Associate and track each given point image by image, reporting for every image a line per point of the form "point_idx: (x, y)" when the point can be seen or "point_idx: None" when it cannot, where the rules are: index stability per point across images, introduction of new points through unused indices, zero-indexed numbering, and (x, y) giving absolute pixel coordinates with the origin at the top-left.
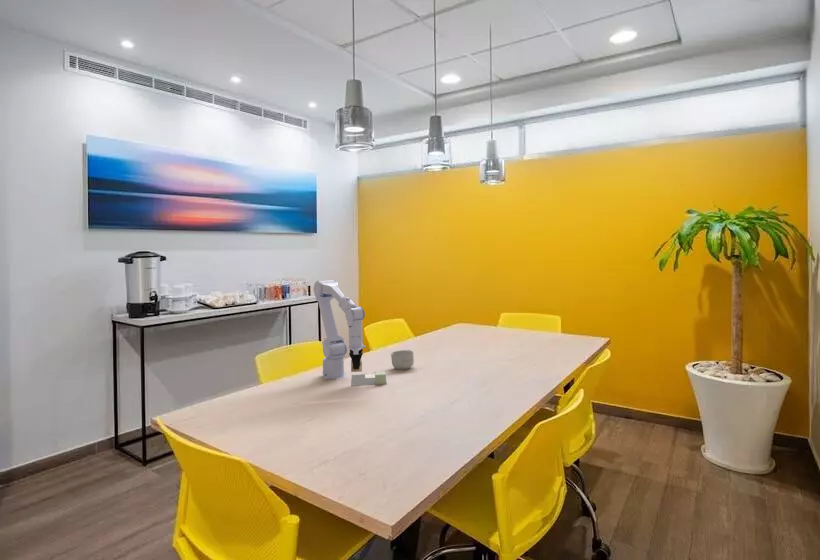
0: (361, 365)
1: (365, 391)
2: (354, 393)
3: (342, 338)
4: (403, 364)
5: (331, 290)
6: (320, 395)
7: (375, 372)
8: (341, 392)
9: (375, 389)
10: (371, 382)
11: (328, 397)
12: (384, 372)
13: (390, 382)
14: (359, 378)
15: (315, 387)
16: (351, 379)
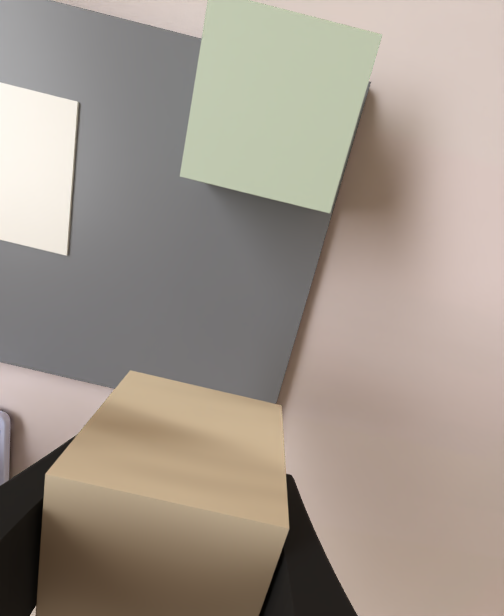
0: (283, 475)
1: (443, 344)
2: (444, 431)
3: None
4: None
5: None
6: (361, 612)
7: (205, 175)
8: (366, 502)
9: (436, 246)
10: (235, 233)
11: (430, 585)
12: (260, 26)
13: (273, 4)
14: (59, 307)
15: None
16: (74, 378)
